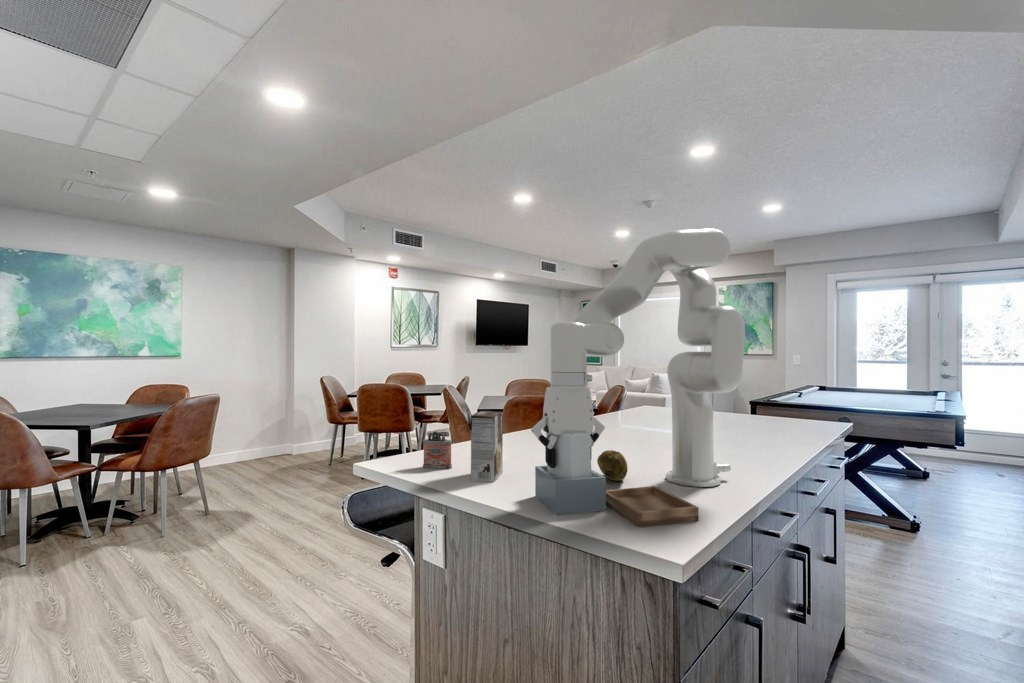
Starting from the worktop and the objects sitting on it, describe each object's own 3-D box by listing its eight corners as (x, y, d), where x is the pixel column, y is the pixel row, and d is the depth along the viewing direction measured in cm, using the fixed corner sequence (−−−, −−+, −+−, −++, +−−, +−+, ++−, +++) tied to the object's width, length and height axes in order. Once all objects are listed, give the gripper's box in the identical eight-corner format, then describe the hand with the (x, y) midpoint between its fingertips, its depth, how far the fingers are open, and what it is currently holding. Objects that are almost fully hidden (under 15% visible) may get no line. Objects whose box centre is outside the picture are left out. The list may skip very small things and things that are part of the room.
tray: (654, 497, 102) (654, 486, 102) (698, 520, 88) (698, 507, 88) (601, 502, 99) (601, 490, 99) (638, 527, 85) (638, 513, 85)
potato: (636, 476, 120) (635, 445, 120) (623, 489, 108) (623, 454, 109) (603, 473, 124) (603, 442, 124) (588, 485, 112) (588, 451, 112)
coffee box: (479, 471, 125) (479, 410, 125) (503, 473, 124) (503, 411, 124) (469, 480, 116) (469, 414, 116) (495, 482, 115) (495, 415, 115)
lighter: (421, 468, 128) (421, 431, 129) (425, 465, 132) (425, 429, 132) (449, 469, 127) (449, 432, 127) (453, 466, 130) (453, 430, 131)
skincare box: (593, 505, 97) (593, 432, 97) (570, 510, 94) (571, 435, 94) (566, 495, 104) (567, 427, 104) (545, 499, 101) (545, 429, 101)
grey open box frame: (580, 492, 106) (580, 463, 107) (605, 510, 94) (605, 477, 94) (535, 496, 104) (535, 466, 104) (555, 515, 91) (555, 481, 92)
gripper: (598, 379, 105) (598, 459, 105) (523, 380, 101) (523, 464, 100) (614, 381, 98) (614, 467, 98) (534, 382, 94) (534, 472, 93)
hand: (568, 465), depth 99 cm, fingers closed on skincare box, 7 cm apart
